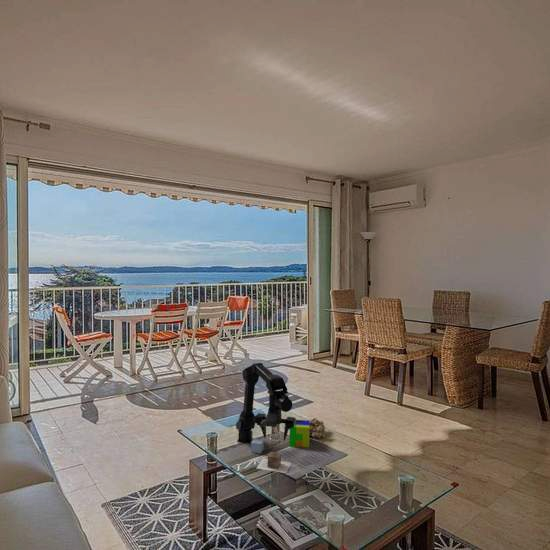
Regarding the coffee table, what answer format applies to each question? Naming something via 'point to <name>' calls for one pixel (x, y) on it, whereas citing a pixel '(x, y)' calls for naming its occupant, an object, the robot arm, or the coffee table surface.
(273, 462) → the walnut block
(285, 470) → the letter
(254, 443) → the blue cube
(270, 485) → the coffee table surface
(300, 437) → the puzzle toy
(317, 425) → the mineral formation
